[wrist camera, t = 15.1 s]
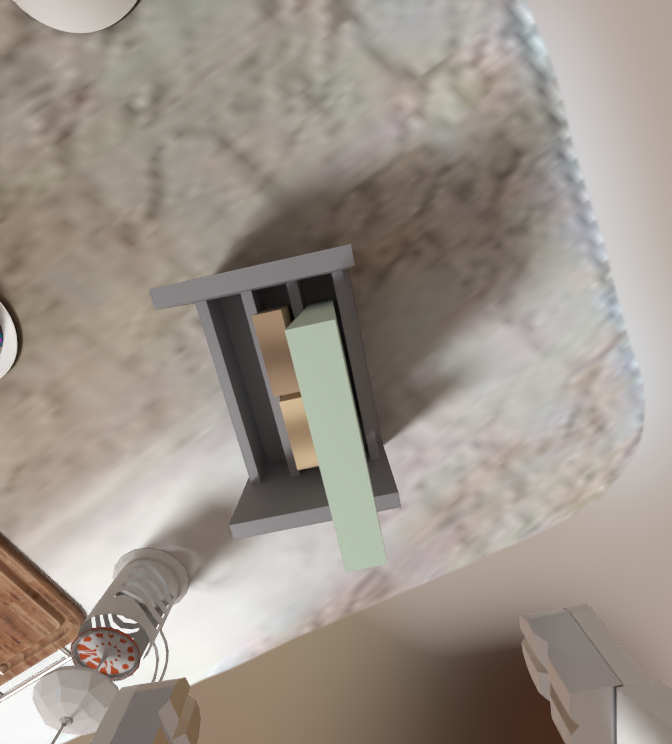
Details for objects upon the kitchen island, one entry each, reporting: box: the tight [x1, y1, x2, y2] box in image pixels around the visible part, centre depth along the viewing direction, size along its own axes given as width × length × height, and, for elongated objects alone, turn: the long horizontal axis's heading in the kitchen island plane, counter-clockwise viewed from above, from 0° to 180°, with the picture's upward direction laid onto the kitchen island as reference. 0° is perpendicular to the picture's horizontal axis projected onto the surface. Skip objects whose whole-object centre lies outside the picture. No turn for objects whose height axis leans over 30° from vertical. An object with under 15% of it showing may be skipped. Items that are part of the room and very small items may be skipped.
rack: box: [149, 244, 401, 540], centre depth 33 cm, size 22×15×12 cm
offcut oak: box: [279, 392, 319, 470], centre depth 35 cm, size 7×2×6 cm, turn 12°
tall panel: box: [285, 299, 388, 572], centre depth 28 cm, size 14×2×20 cm, turn 12°
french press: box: [33, 548, 189, 744], centre depth 34 cm, size 10×12×25 cm
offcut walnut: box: [252, 304, 300, 397], centre depth 33 cm, size 7×2×8 cm, turn 12°
